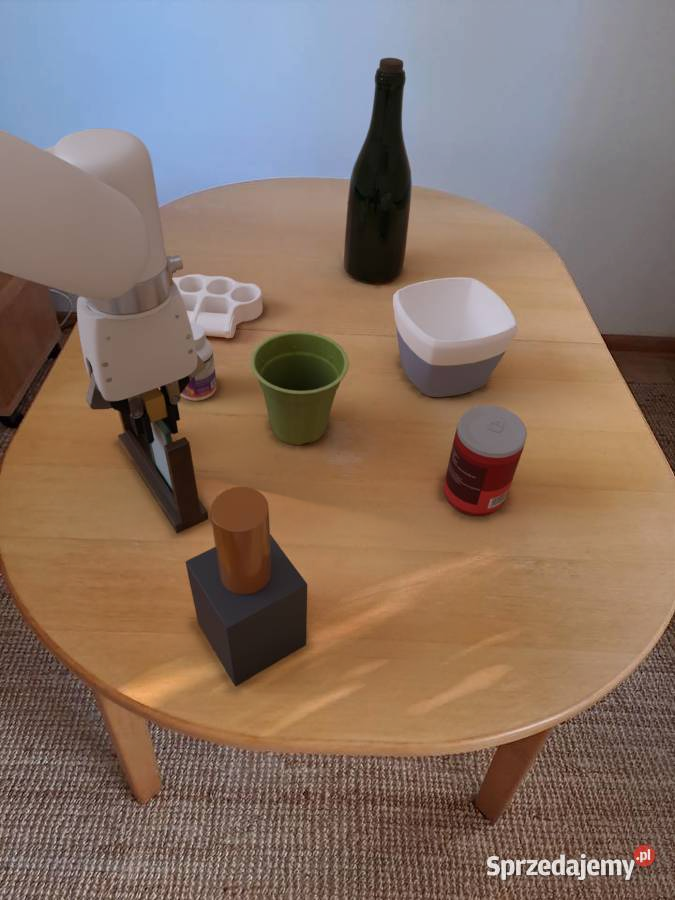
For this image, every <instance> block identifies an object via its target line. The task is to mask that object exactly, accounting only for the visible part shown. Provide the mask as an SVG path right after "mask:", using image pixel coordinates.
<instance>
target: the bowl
mask: <svg viewBox="0 0 675 900" xmlns="http://www.w3.org/2000/svg"><path fill="white" fill-rule="evenodd" d="M392 308H393V315H394V323H395V329H396V336H397V337H396V338H397V343H398V351H399V358H400V364H401V367H402V369H403V372H404V374H405V376H406V378H407V379H408V380H409V382H410V383H411V384H412V385H413V386H414V387H415V388H416V389H417V390H418V391H419V392H421V393H422V394H423V395H425V396H426V397H431V398H442V397H452V396H453V397H454V396H458V395H464V394H468V393H470V392H473V391H475V390H478V389H480V388H482V387H484V386H485V385H486V384H487V383H488V381H489V379H490V378H491V376H492V375H493V373H494V371H495V369H496V368H497V366H498V364H499V363H500V362H501V360H502V358H503V357H504V355H505V353H506V352H507V350H508V349H509V347H510V346H511V344H512V342H513V341H514V339H515V337H516V336H517V334H518V333H519V329H518V325H517V320H516V317H515V315H514V314H513V312H512V311H511V309H510V308H509V306H508V305H507V304H506V302H505V301H504V300H503V299H502V297H500V296H499V295H498V294H497V293H496V292H495V291H494V290H492V289H491V288H490V287H489V286H488V285H486V284H485V283H484V282H481V281H480V280H478V279H476V278H474V277H462V276H458V277H455V276H454V277H445V278H443V277H442V278H435V279H429V280H424V281H421V282H415V283H412V284H409V285H406V286H404V287H402V288H399V289H397V290H396V291H395V292H394V293H393V295H392Z"/></svg>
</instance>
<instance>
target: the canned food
mask: <svg viewBox="0 0 675 900" xmlns="http://www.w3.org/2000/svg"><path fill="white" fill-rule="evenodd" d="M527 435H528V432H527V427H526V425H525V423H524V421H523V420H522V419H521V417H519V416H518V415H517V414H515V413H514V412H512V411H511V410H509V409H507V408H504V407H501V406H496V405H489V404H488V405H487V404H485V405H478V406H474V407H470V408H469V409H467V410H466V411H465V412H463V413H462V414H461V416H460V417H459V420H458V422H457V426H456V429H455V433H454V438H453V442H452V447H451V450H450V456H449V459H448V463H447V468H446V472H445V477H444V481H443V490H444V495H445V499H446V500H447V502H448V503H449V504H450V506H452V507H453V509H455V510H456V511H459V512H460V513H462V514H465V515H468V516H473V517H482V516H483V517H484V516H488V515H491V514H493V513H495V512H496V511H497V510H499V509H500V508H501V507H502V505H503V504H504V503H505V501H506V499H507V496H508V494H509V491H510V489H511V485H512V482H513V479H514V476H515V473H516V472H517V468H518V465H519V463H520V460H521V457H522V454H523V451H524V448H525V444H526V442H527V437H528V436H527Z"/></svg>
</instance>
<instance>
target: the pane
mask: <svg viewBox="0 0 675 900" xmlns="http://www.w3.org/2000/svg"><path fill="white" fill-rule="evenodd" d="M139 395H140V400H141V404H142V406H143V408H144V410H145V411H146V412H147V414H148V415H149V417H150V422H151V426H152V431H153V436H154V440H155V441H153V443H151V444H150V448H151V453H152V457H153V462H154V465H155V467H156V468H157V470H158V471H159V473H160V474H161V476H162V478H163V479H164V481H165V482H166V484H167V485H168V487H169V488H170V490H171V491H172V493H173V489H172V484H171V479H170V475H169V470H168V465H167V460H166V455H165V450H164V445H167V444H169V443H171V442H173V437H172V434H171V432H170V431H169V429H168V428H167V426H166V425H165V424H164V422H163V421H162V419H163V418H165V417H168V416H167V411H166V405H165V400H164V395H163V394H162V392H161V391H160V388H159V387H158V388H155V389H152V390H150V391H147V392H144V393H141V394H139Z"/></svg>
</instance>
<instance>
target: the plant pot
mask: <svg viewBox="0 0 675 900" xmlns="http://www.w3.org/2000/svg"><path fill="white" fill-rule="evenodd" d="M253 349H254V350H253V351H252V353H251V354H250V355H251V356H250V360H249V361H250V368H251V371H252V374H253V375H254V376H255V377H256V379H257V380H258V384H259V387H260V388H261V391H262V394H263V399H264V402H265V406H266V410H267V414H268V418H269V424H270V427H271V430H272V432H273V434H274V435H275V437H276V438H277V439H278V440H280V441H282V442H284V443H286V444H290V445H295V446H301V445H304V444H307V443H314V442H316V441H317V440H319V439H320V438H322V436H323V435H324V434H325V432H326V429H327V425H328V421H329V418H330V415H331V411H332V407H333V404H334V400H335V398H336V394H337V390H338V389H339V387H340V384H341V382H342V380H343V379H344V378H345V377H346V375H347V373H348V371H349V366H350V360H349V357H348V354H347V352H346V351H345V349H344V348H343V347H342V346H341V345H340V344H339V343H338V342H336V341H335V340H333V339H332V338H330V337H328V336H325V335H323V334H320V333H316V332H313V331H312V332H311V331H301V330H297V331H295V330H294V331H285V332H281V333H277V334H274V335H271V336H269V337H267V338H265V339H264V340H262V341H261V342H260V343H258V344H257V346H256V347H254V348H253Z"/></svg>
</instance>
